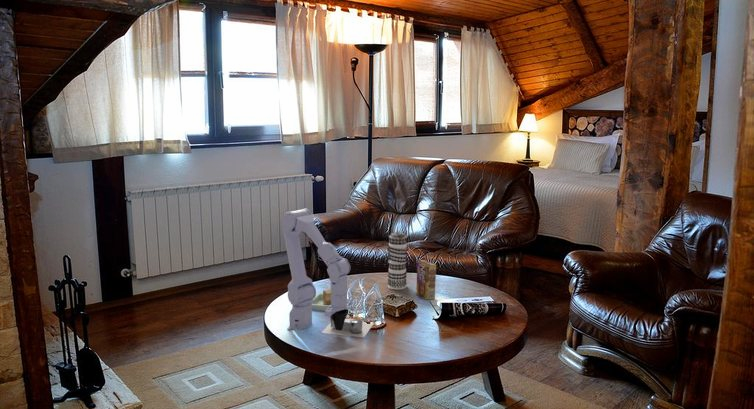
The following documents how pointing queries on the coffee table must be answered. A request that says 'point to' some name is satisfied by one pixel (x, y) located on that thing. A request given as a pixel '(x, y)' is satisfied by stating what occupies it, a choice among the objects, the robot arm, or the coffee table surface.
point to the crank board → (331, 330)
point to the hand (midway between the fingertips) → (339, 329)
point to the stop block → (327, 297)
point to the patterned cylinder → (397, 261)
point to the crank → (350, 325)
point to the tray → (319, 303)
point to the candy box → (426, 279)
